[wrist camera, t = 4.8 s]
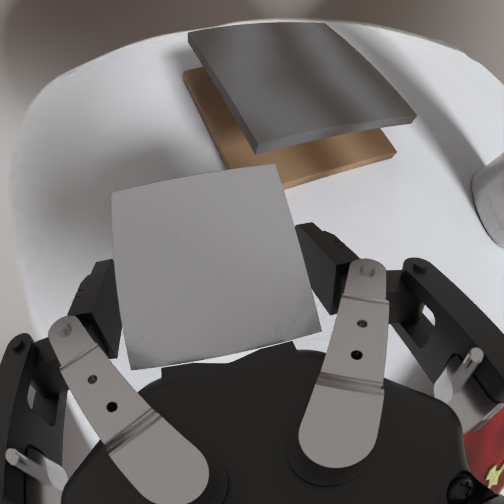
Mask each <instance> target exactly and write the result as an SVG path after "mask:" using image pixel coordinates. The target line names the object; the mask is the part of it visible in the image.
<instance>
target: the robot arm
mask: <svg viewBox="0 0 504 504" xmlns="http://www.w3.org/2000/svg"><path fill="white" fill-rule="evenodd" d="M472 192H473V198H474V202H475V205H476V208H477V211H478V214H479V216H480V219H481V221H482V223H483V225H484V227H485V229H486V230H487V232H488V233H489V235H490V236H491V238H492V239H493V240H494V241H495V242H496V243H497V244H498V245H499V246H501V247H504V153H502V154H501V155H500V156H499V157H497V158H496V159H495V160H493V161H492V162H491V163H490V164H488V165H487V166H486V167H484V168H483V169H482V170H480V171H479V172H478V173H476V174H475V175H474V177H473V180H472ZM295 230H296V234H297V237H298V241H299V245H300V248H301V252H302V255H303V259H304V263H305V267H306V270H307V274H308V278H309V282H310V285H311V289H312V290H313V291H314V293H315V294H316V296H317V297H318V299H319V300H320V301H321V303H322V304H323V306H324V307H325V309H326V310H327V312H328V313H329V315H334V314H337V317H336V321H335V324H334V328H333V332H332V335H331V339H330V342H329V346H328V349H327V353H324V352H319V351H314V350H297V349H296V347H295V345H294V343H293V341H290V342H286V343H282V344H279V345H275V346H271V347H267V348H263V349H260V350H257V351H255V352H253V353H251V354H249V355H247V356H244V357H242V358H240V359H238V360H235V361H233V362H231V363H190V364H184V365H177V366H171V367H164V368H161V372H162V378H160V379H158V380H156V381H154V382H151V383H150V384H148V385H147V386H145V387H144V388H142V389H141V390H140V391H139V392H138V393H137V392H136V391H135V390H134V388H133V387H132V386H131V385H130V384H129V383H128V382H127V380H126V379H125V378H124V377H123V376H122V375H121V373H120V372H119V371H118V370H117V369H116V367H115V366H114V365H113V364H112V362H111V361H110V360H109V359H114V358H117V357H118V350H119V343H120V336H121V330H122V321H121V315H120V309H119V302H118V294H117V286H116V277H115V267H114V260H113V259H109V260H104V261H99V262H96V263H95V266H94V268H93V270H92V272H91V275H88V276H87V277H86V278H85V279H84V280H83V281H82V282H81V284H80V286H79V288H78V292H77V293H76V295H75V298H74V300H73V302H72V305H71V307H70V310H69V312H68V315H67V316H65V317H62V318H60V319H59V320H57V321H56V322H55V323H54V324H53V325H52V326H51V328H50V329H49V332H48V337H47V338H44V339H42V340H39V341H37V342H34V340H33V339H32V337H31V336H30V335H29V334H27V333H22V334H19V335H17V336H16V337H14V338H13V339H12V340H11V341H10V343H9V344H8V346H7V348H6V351H5V353H4V356H3V359H2V362H1V364H0V504H504V496H503V495H501V494H499V493H497V492H495V491H493V490H491V489H490V488H488V487H486V486H485V485H483V484H482V483H481V482H479V481H478V480H477V479H476V478H475V477H474V476H473V474H472V473H471V471H470V469H469V466H468V463H467V459H466V455H465V449H464V438H463V435H464V434H466V433H467V432H468V431H469V432H473V431H477V430H478V429H480V428H481V427H482V426H483V425H484V424H485V423H486V422H488V421H489V420H490V419H491V418H492V417H493V416H494V415H495V414H496V413H497V412H498V411H499V410H500V409H501V408H502V407H503V406H504V334H503V333H502V332H501V331H500V330H499V328H498V327H497V326H496V325H495V324H494V323H493V322H492V321H491V320H490V319H489V318H488V317H487V316H486V315H485V314H484V313H483V312H482V311H481V310H480V309H479V308H478V306H477V305H476V304H474V303H473V302H472V301H471V300H470V299H469V298H468V297H467V296H466V295H465V294H464V293H463V292H462V291H461V290H460V289H459V288H458V287H457V286H456V285H455V284H454V283H453V282H451V281H450V280H449V279H448V278H447V277H446V276H445V275H444V274H443V273H441V272H440V271H439V270H438V269H437V268H436V267H435V266H433V265H432V264H431V263H430V262H428V261H426V260H424V259H421V258H408V259H406V260H405V261H404V264H403V268H402V270H386V269H385V267H384V266H383V265H382V264H381V263H379V262H378V261H375V260H372V259H360V258H359V257H358V256H357V255H356V254H355V253H354V252H353V251H351V250H350V249H349V248H348V247H347V246H346V245H345V244H344V243H343V242H341V241H340V240H339V239H338V238H337V237H336V236H335V235H333V234H331V233H329V232H326V231H322V230H321V229H319V228H318V227H317V226H316V225H315V224H314V223H313V222H311V223H305V224H299V225H296V226H295ZM425 305H426V306H427V307H428V308H429V309H430V310H431V311H432V313H433V314H434V317H435V326H433V324H432V323H431V322H430V321H429V320H428V319H427V317H426V316H425V315H424V314H423V313H422V311H423V308H424V306H425ZM388 324H391V325H392V327H393V328H394V329H395V331H396V332H397V333H398V335H399V336H400V337H401V339H402V340H403V342H404V343H405V344H406V346H407V347H408V348H409V350H410V351H411V353H412V354H413V355H414V357H415V358H416V360H417V361H418V363H419V364H420V365H421V367H422V368H423V370H424V371H425V373H426V374H427V376H428V377H429V378H430V380H431V381H432V383H433V384H434V389H433V391H434V396H435V397H432V396H429V395H427V394H424V393H421V392H419V391H416V390H413V389H411V388H408V387H406V386H403V385H401V384H398V383H396V382H393V381H391V380H388V379H386V378H384V371H385V361H386V351H387V338H388ZM30 385H31V386H33V388H34V389H35V390H36V393H35V398H34V403H33V408H32V409H31V408H30V406H29V404H28V400H27V395H28V390H29V386H30ZM68 390H70V391H71V393H72V394H73V396H74V398H75V400H76V402H77V403H78V405H79V407H80V408H81V410H82V412H83V413H84V415H85V417H86V418H87V420H88V421H89V423H90V424H91V426H92V428H93V429H94V431H95V432H96V434H97V435H98V436H99V438H100V440H99V441H98V443H97V444H96V445H95V447H94V448H93V449H92V450H91V452H90V453H89V454H88V456H87V457H86V458H85V459H84V461H83V462H82V463H81V464H80V466H79V467H78V468H77V470H76V471H75V472H74V473H73V475H72V476H71V477H70V479H69V480H68V478H67V475H66V473H65V471H64V470H63V468H62V446H63V429H64V417H65V408H66V400H67V392H68Z"/></svg>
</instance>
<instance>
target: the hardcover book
mask: <svg viewBox="0 0 504 504" xmlns="http://www.w3.org/2000/svg"><path fill="white" fill-rule="evenodd" d="M434 397H435V396H434ZM463 438H464V449H465V455H466V459H467V463H468V466H469V469H470V471H471V473H472V474H473V476H474V477H475V478H476V479H477V480H478V481H479V482H481V483H482V484H483V485H485V486H486V487H488V488H490V489H491V490H493V491H495V492H497V493H500V492H501V491H502V489H503V488H504V406H503V407H502V408H501V409H500V410H499V411H498V412H497V413H496V414H495V415H494V416H493V417H492V418H491V419H490V420H489V421H488V422H486V423H485V424H484V425H483V426H482V427H481V428H480V429H478V430H477V431H473V432H469V431H468V432H467V433H466V434H464V435H463Z"/></svg>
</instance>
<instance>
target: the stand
mask: <svg viewBox="0 0 504 504" xmlns="http://www.w3.org/2000/svg"><path fill="white" fill-rule="evenodd" d="M188 43H189V44H190V46H191V47H192V49H193V51H194V52H195V54H196V55H197V57H198V58H199V60H200V62H201V63H202V65H203V66H204V67H200V68H196V69H192V70H188V71H184V72H183V80H184V82H185V84H186V86H187V88H188V90H189V92H190V94H191V96H192V98H193V100H194V102H195V104H196V106H197V108H198V110H199V113H200V115H201V117H202V119H203V121H204V123H205V125H206V127H207V129H208V131H209V133H210V135H211V137H212V139H213V141H214V144H215V146H216V148H217V150H218V152H219V154H220V156H221V158H222V160H223V162H224V164H225V167H226V169H227V170H230V169H237V168H245V167H253V166H261V165H269V164H275V165H276V168H277V171H278V174H279V177H280V180H281V184H282V187H283V190H285V189H288V188H291V187H294V186H297V185H301V184H304V183H307V182H310V181H313V180H317V179H320V178H323V177H326V176H330V175H333V174H336V173H340V172H343V171H347V170H350V169H354V168H357V167H361V166H364V165H368V164H371V163H375V162H379V161H382V160H386V159H390V158H392V157H393V156H394V155H395V154H396V152H397V151H396V150H395V148H394V147H393V145H392V144H391V143H390V141H389V140H388V138H387V137H386V136H385V134H384V133H383V131H382V130H381V129H380V128H382V127H389V126H396V125H403V124H411V123H412V122H413V120H414V119H415V118H416V117H417V115H416V114H415V112H414V111H413V110H412V109H411V107H410V106H409V105H408V104H407V103H406V101H405V100H404V99H403V98H402V97H401V95H400V94H399V93H398V92H397V91H396V90H395V89H394V88H393V86H392V85H391V84H390V83H389V82H388V81H387V80H386V79H385V78H384V77H383V76H382V75H381V74H380V73H379V71H378V70H377V69H376V68H375V67H374V66H373V65H372V64H371V63H370V62H369V61H367V60H366V59H365V58H364V57H363V56H362V55H361V54H360V53H359V52H358V51H357V50H356V49H355V48H354V47H352V46H351V45H350V44H349V43H348V42H347V41H346V40H344V39H343V38H342V37H341V36H340V35H338V34H337V33H336V32H335V31H334V30H332V29H331V28H330V27H329V26H327V25H326V24H323V23H301V22H278V23H256V24H243V25H233V26H225V27H218V28H211V29H205V30H199V31H194V32H189V33H188Z"/></svg>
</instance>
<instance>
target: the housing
mask: <svg viewBox="0 0 504 504" xmlns="http://www.w3.org/2000/svg"><path fill="white" fill-rule="evenodd" d="M111 218H112V241H113V255H114V267H115V277H116V286H117V294H118V302H119V309H120V315H121V321H122V327H123V333H124V338H125V344H126V349H127V353H128V358H129V363H130V367H131V370H138V369H146V368H154V367H161V366H168V365H175V364H181V363H187V362H193V361H199V360H204V359H210V358H215V357H220V356H225V355H230V354H235V353H239V352H244V351H248V350H253V349H257V348H261V347H265V346H269V345H273V344H277V343H281V342H285V341H289V340H293V339H296V338H300V337H304V336H307V335H311V334H314V333H317V332H321V331H322V330H321V326H320V322H319V317H318V313H317V309H316V305H315V301H314V297H313V293H312V289H311V285H310V282H309V278H308V274H307V270H306V267H305V263H304V259H303V255H302V252H301V248H300V245H299V241H298V237H297V234H296V230H295V227H294V224H293V220H292V217H291V213H290V210H289V207H288V203H287V200H286V197H285V193H284V190H283V187H282V184H281V180H280V177H279V174H278V171H277V168H276V165H275V164H269V165H261V166H253V167H245V168H237V169H230V170H223V171H217V172H210V173H204V174H198V175H193V176H187V177H181V178H176V179H171V180H166V181H161V182H156V183H151V184H147V185H142V186H137V187H133V188H129V189H124V190H120V191H116V192H112V193H111Z"/></svg>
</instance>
